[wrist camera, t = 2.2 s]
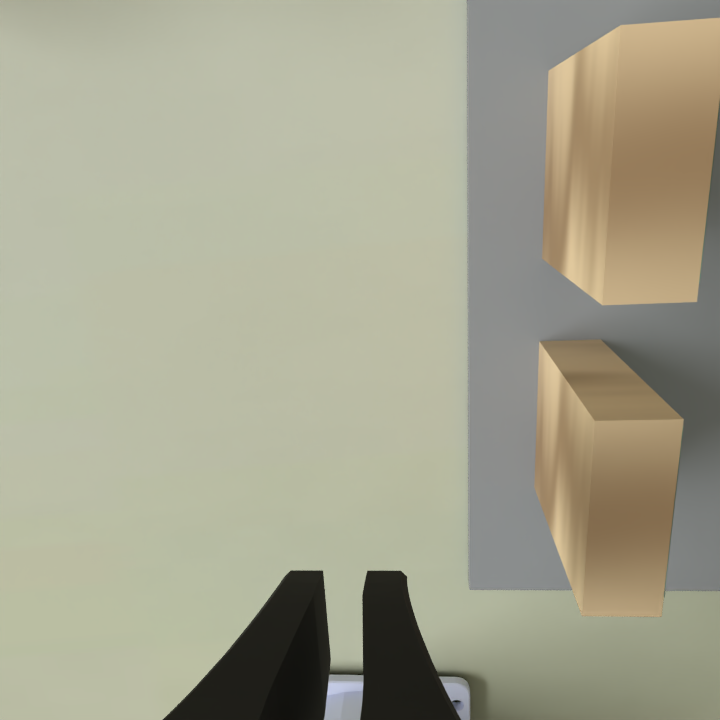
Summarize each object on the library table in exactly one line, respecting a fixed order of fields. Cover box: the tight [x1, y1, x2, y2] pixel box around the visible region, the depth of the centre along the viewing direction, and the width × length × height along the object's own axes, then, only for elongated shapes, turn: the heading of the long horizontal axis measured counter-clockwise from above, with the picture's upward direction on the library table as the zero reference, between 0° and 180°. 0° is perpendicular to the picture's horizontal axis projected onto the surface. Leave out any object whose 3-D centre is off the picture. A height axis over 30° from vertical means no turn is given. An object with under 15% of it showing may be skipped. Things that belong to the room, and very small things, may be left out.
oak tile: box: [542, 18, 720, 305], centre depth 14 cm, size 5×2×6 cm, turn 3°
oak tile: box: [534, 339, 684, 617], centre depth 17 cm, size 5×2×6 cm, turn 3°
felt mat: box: [467, 0, 720, 591], centre depth 18 cm, size 19×14×1 cm
